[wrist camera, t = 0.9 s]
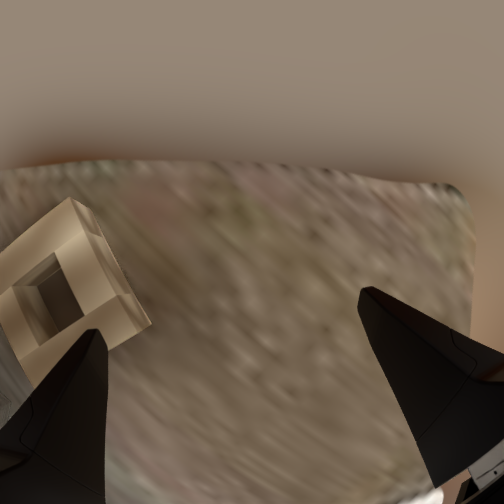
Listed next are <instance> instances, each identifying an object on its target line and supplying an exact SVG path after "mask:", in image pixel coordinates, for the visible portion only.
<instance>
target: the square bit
mask: <svg viewBox="0 0 504 504" xmlns="http://www.w3.org/2000/svg"><path fill="white" fill-rule="evenodd" d="M10 405H11V401H10V400H8V399H7V398H6V397H5V396H4V395H3V394H2V393H1V392H0V428H2V427H3V426H4V425H5V424H6V423H7V421H8V415H9V410H10Z"/></svg>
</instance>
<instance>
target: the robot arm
mask: <svg viewBox="0 0 504 504" xmlns="http://www.w3.org/2000/svg"><path fill="white" fill-rule="evenodd" d="M357 309H358V313H359V316H360V318H361V321H362V324H363V326H364V329H365V332H366V334H367V337H368V340H369V342H370V345H371V347H372V349H373V351H374V353H375V355H376V357H377V359H378V361H379V363H380V365H381V368H382V370H383V372H384V374H385V376H386V378H387V380H388V382H389V384H390V386H391V388H392V390H393V392H394V394H395V397H396V399H397V401H398V403H399V405H400V407H401V410H402V412H403V414H404V416H405V418H406V421H407V423H408V425H409V427H410V430H411V432H412V434H413V436H414V439H415V441H417V442H416V444H417V446H418V448H419V451H420V453H421V455H422V458H423V460H424V463H425V465H426V468H427V470H428V472H429V475H430V477H431V480H432V483H433V485H434V487H435V489H436V488H438V487H439V486H441V485H443V484H444V483H446V482H448V481H449V480H451V479H453V478H454V477H456V476H457V475H459V474H460V473H462V472H463V471H465V470H466V469H468V471H469V473H470V475H471V477H470V478H469V479H468V480H466V481H465V482H463V483H462V485H461V488H460V491H459V494H458V497H457V500H456V502H455V504H504V354H503V353H501V352H498V351H496V350H494V349H492V348H489V347H487V346H485V345H483V344H481V343H478V342H476V341H474V340H472V339H470V338H468V337H466V336H464V335H462V334H461V333H459V332H457V331H455V330H453V329H452V328H449V327H448V326H446V325H444V324H442V323H440V322H439V321H437V320H435V319H433V318H431V317H429V316H428V315H426V314H424V313H422V312H420V311H418V310H417V309H415V308H413V307H411V306H409V305H407V304H405V303H403V302H402V301H400V300H398V299H396V298H394V297H392V296H390V295H388V294H387V293H385V292H383V291H381V290H379V289H377V288H375V287H373V286H369V287H365V288H362V289H361V291H360V295H359V301H358V306H357ZM30 396H31V397H30ZM30 396H29V397H28V398H27V400H26V401H25V402H24V403H23V404H22V406H21V407H20V408H19V409H18V411H17V412H16V413H15V414H14V415H13V416H12V417H11V419H10V420H9V421H8V422H7V423H6V424H5V425H4V426H3V427H2V428H1V429H0V504H106V503H105V430H106V413H107V399H108V346H107V344H106V342H105V340H104V338H103V336H102V334H101V332H100V330H99V329H97V328H91V329H87V330H86V331H85V332H84V333H83V334H82V335H81V336H80V337H79V338H78V339H77V340H76V342H75V343H74V344H73V345H72V346H71V347H70V348H69V350H68V351H67V352H66V353H65V354H64V355H63V356H62V358H61V359H60V360H59V361H58V362H57V363H56V365H55V366H54V367H53V368H52V369H51V370H50V372H49V373H48V374H47V375H46V376H45V378H44V379H43V380H42V381H41V382H40V384H39V385H38V386H37V387H36V388H35V390H34V391H33V392H32V393H31V395H30Z"/></svg>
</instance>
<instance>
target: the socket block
mask: <svg viewBox="0 0 504 504" xmlns="http://www.w3.org/2000/svg"><path fill="white" fill-rule="evenodd" d="M0 323H1V326H2V328H3V330H4V332H5V335H6V337H7V339H8V341H9V343H10V345H11V347H12V349H13V351H14V353H15V355H16V357H17V359H18V361H19V363H20V365H21V367H22V368H23V370H24V372H25V374H26V376H27V377H28V379H29V381H30V383H31V384H32V386H33V388H34V389H35V388H36V387H37V386H38V385H39V384H40V382H41V381H42V380H43V379H44V378H45V376H46V375H47V374H48V373H49V372H50V370H51V369H52V368H53V367H54V366H55V365H56V363H57V362H58V361H59V360H60V359H61V358H62V356H63V355H64V354H65V353H66V352H67V351H68V350H69V348H70V347H71V346H72V345H73V344H74V343H75V342H76V340H77V339H78V338H79V337H80V336H81V335H82V334H83V333H84V332H85V331H86V330H87V329H91V328H97V329H99V330H100V332H101V334H102V336H103V338H104V340H105V342H106V344H107V346H108V351H109V350H111V349H112V348H114V347H116V346H117V345H119V344H121V343H122V342H124V341H126V340H127V339H129V338H131V337H132V336H134V335H136V334H137V333H139V332H141V331H142V330H144V329H145V328H147V327H148V326H150V325H151V324H152V323H151V321H150V320H149V318H148V316H147V315H146V313H145V311H144V310H143V308H142V306H141V304H140V303H139V301H138V299H137V298H136V296H135V294H134V292H133V291H132V289H131V287H130V285H129V283H128V282H127V280H126V278H125V276H124V274H123V272H122V271H121V269H120V267H119V265H118V263H117V261H116V259H115V257H114V255H113V253H112V251H111V249H110V247H109V245H108V243H107V241H106V239H105V237H104V235H103V233H102V231H101V229H100V227H99V225H98V223H97V221H96V218H95V216H94V214H93V212H92V210H91V209H89V208H87V207H85V206H84V205H82V204H80V203H79V202H77V201H75V200H74V199H72V198H70V197H68V198H67V199H66V200H64V201H63V202H62V203H60V204H59V205H58V206H56V207H55V208H54V209H52V210H51V211H50V212H49V213H47V214H46V215H45V216H44V217H42V218H41V219H40V220H39V221H37V222H36V223H35V224H34V225H32V226H31V227H30V228H29V229H28V230H26V231H25V232H24V233H23V234H22V235H21V236H19V237H18V238H17V239H16V240H15V241H14V242H12V243H11V244H10V245H9V246H8V247H7V248H6V249H5V250H4V251H3V252H1V253H0Z"/></svg>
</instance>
